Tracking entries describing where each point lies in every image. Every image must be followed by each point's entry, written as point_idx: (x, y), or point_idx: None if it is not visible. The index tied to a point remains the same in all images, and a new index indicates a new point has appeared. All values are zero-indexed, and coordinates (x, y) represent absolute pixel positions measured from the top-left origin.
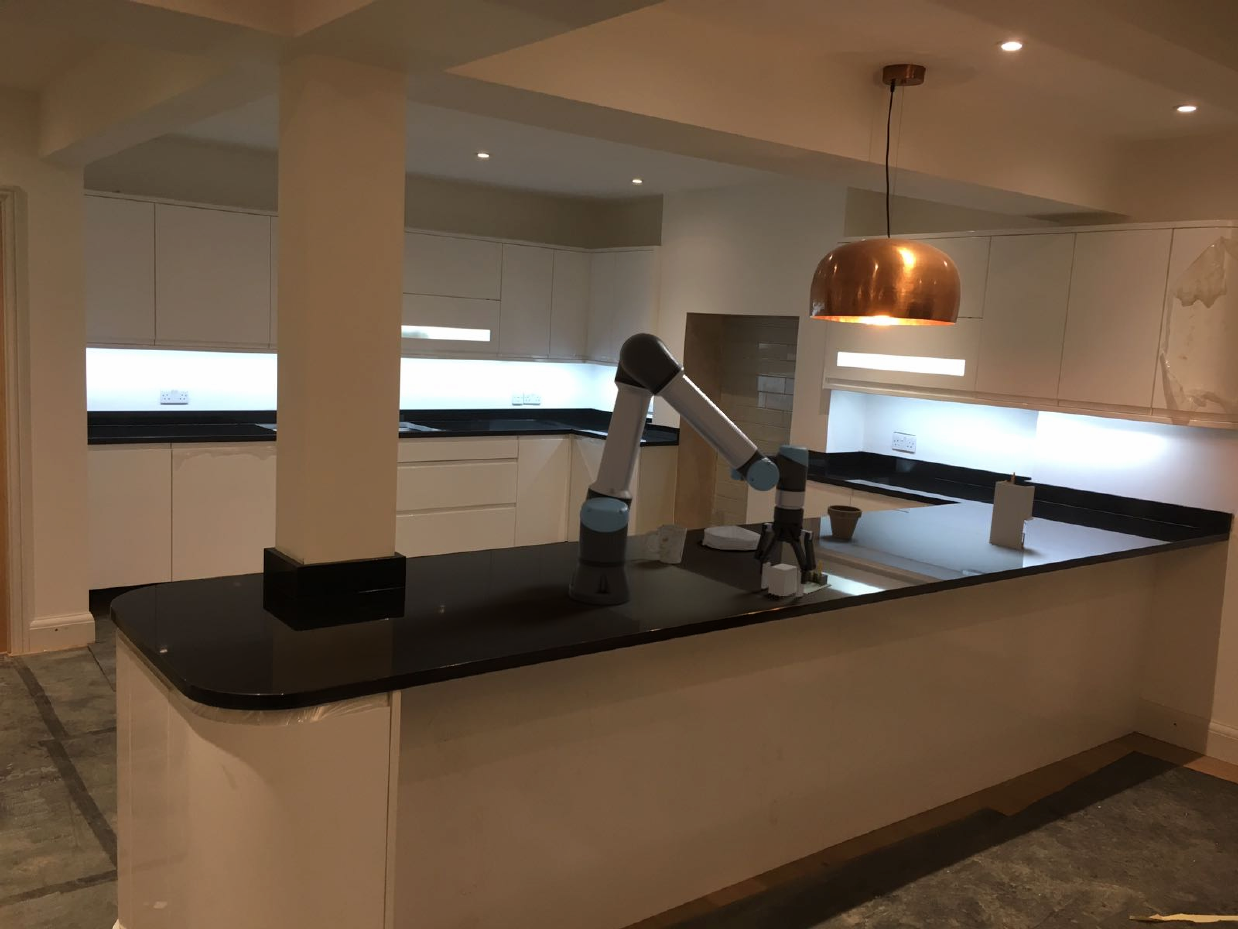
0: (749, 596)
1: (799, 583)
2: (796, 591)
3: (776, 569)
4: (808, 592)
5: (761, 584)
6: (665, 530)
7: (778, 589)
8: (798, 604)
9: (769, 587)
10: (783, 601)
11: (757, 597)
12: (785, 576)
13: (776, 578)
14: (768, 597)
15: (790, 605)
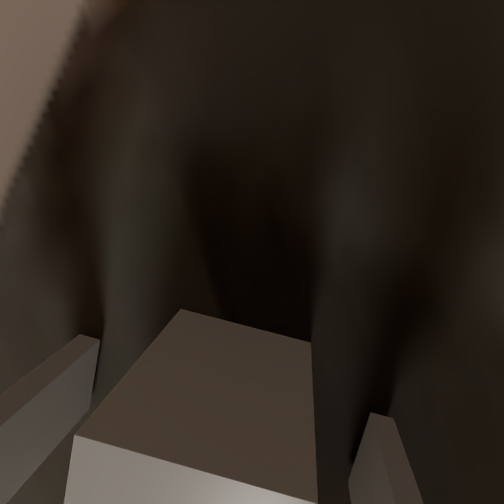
0: (422, 153)
1: (11, 387)
2: (77, 356)
3: (225, 465)
4: None
5: (398, 436)
6: None
7: (220, 341)
8: (28, 175)
9: (306, 363)
10: (143, 185)
11: (352, 167)
12: (114, 391)
13: (232, 394)
14: (275, 225)
15: (63, 104)
